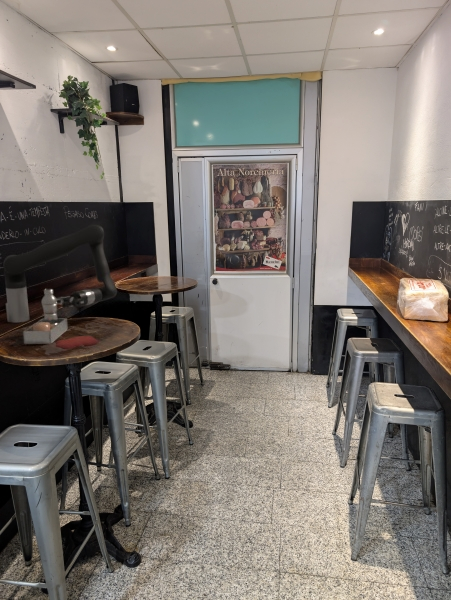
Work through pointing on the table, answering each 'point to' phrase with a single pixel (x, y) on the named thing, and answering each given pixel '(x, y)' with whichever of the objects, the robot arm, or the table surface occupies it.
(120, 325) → the table surface
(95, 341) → the red cloth
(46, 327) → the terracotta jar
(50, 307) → the plastic bottle
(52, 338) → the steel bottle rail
